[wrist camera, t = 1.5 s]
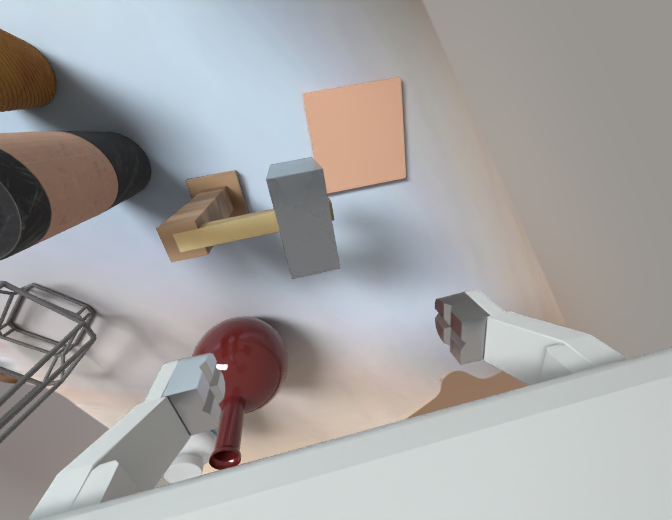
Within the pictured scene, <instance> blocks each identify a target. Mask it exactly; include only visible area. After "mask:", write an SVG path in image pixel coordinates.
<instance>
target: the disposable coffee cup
mask: <svg viewBox="0 0 672 520" xmlns="http://www.w3.org/2000/svg"><path fill="white" fill-rule="evenodd" d="M55 92H56V80H55V75H54V72H53V70H52V68H51V66H50V64H49V63H48V61H47V60H46V58H45V57H44V56H43V55H42V54H41V53H40V52H39V51H38V50H37V49H36V48H35V47H33V46H32V45H31V44H29V43H27V42H26V41H24V40H22V39H19V38H18V37H15V36H14V35H12V34H9V33H8V32H6V31H3V30H2V29H0V112H4V111H11V110H19V109H28V108H38V107H42V106H44V105H46V104H48V103H49V102H50V101H51V100H52V98H53V97H54V95H55Z"/></svg>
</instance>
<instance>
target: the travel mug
mask: <svg viewBox="0 0 672 520" xmlns="http://www.w3.org/2000/svg"><path fill="white" fill-rule="evenodd" d="M150 174H151V168H150V163H149V160H148V158H147V156H146V155H145V153H144V152H143V150H142V149H141V148H140V147H139V146H138V145H137V144H136V143H135V142H133V141H132V140H130V139H129V138H127V137H125V136H123V135H120V134H116V133H110V132H79V131H43V132H20V133H0V260H3V259H5V258H8V257H10V256H12V255H14V254H16V253H18V252H20V251H23V250H25V249H27V248H29V247H31V246H33V245H35V244H37V243H39V242H42V241H44V240H46V239H48V238H50V237H52V236H54V235H56V234H59V233H61V232H63V231H65V230H67V229H69V228H71V227H73V226H76V225H78V224H80V223H82V222H84V221H86V220H88V219H90V218H93V217H95V216H97V215H99V214H101V213H103V212H105V211H107V210H108V209H110V208H112V207H114V206H115V205H117V204H119V203H121V202H123V201H124V200H126V199H128V198H130V197H131V196H133V195H135V194H137V193H138V192H140V191H141V190H142V189H144V188H145V187H146V185H147V184H148V182H149V179H150Z"/></svg>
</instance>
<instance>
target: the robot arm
mask: <svg viewBox="0 0 672 520" xmlns="http://www.w3.org/2000/svg"><path fill="white" fill-rule="evenodd" d="M435 309H436V310H437V311H438V312H439V313H438V315H437V316H436V318H435V323H436V329H437V332H438V334H439V336H440V338H441V340H442V341H443V342H444V343H445V344H448V345H450V352H451V353H452V354H453V356H454V357H455V358H456V360H457V361H458V362H459V363H460V365H462V364H466V363H470V362H475V361H479V360H483V359H484V361H486V362H488V363H489V364H491V365H493V366H495V367H497V368H498V369H500V370H502V371H504V372H506V373H508V374H510V375H511V376H513V377H515V378H517V379H519V380H520V381H522V382H524V383H526V384H528V385H529V386H526V387H523V388H519V389H516V390H512V391H508V392H505V393H501V394H497V395H494V396H490V397H487V398H483V399H479V400H475V401H472V402H468V403H465V404H461V405H457V406H453V407H450V408H446V409H442V410H439V411H435V412H431V413H428V414H424V415H420V416H417V417H413V418H409V419H405V420H402V421H398V422H394V423H391V424H387V425H383V426H380V427H376V428H372V429H369V430H365V431H361V432H358V433H354V434H351V435H347V436H343V437H340V438H336V439H332V440H329V441H325V442H321V443H318V444H314V445H310V446H307V447H303V448H299V449H296V450H292V451H288V452H285V453H281V454H277V455H274V456H270V457H266V458H263V459H259V460H255V461H252V462H248V463H244V464H241V465H237V466H233V467H230V468H226V469H222V470H219V471H215V472H211V473H208V474H204V475H200V476H197V477H193V478H190V479H186V480H182V481H179V482H175V483H171V484H168V485H164V486H160V487H157V488H154V487H155V486H156V485H157V483H158V482H159V480H160V479H161V477H162V476H163V475H164V474H165V472H166V471H167V469H168V468H169V467H170V465H171V464H172V462H173V461H174V460H175V458H176V457H177V456H178V454H179V453H180V451H181V450H182V449H183V447H184V446H185V445H186V443H187V442H188V440H189V439H190V438H191V437H190V436H192V435H196V434H199V433H202V432H206V431H209V430H213V429H216V428H217V427H218V423H219V418H220V414H221V408H220V406H219V404H220V402H221V401H222V400H223V399H224V395H225V381H224V376H223V374H222V372H221V370H219V369H217V368H215V366H216V362H217V361H216V359H215V357H214V355H213V354H212V353H206V354H202V355H197V356H193V357H188V358H183V359H180V360H175V361H171V362H167V363H165V364H164V365H163V366H162V368H161V370H160V372H159V374H158V375H157V377H156V379H155V381H154V383H153V385H152V387H151V389H150V391H149V393H148V395H147V397H146V399H145V401H144V402H142V403H139V404H138V405H137V406H135V407H134V408H133V409H132V410H131V411H130V412H128V413H127V414H126V415H125V416H124V417H123V418H122V419H120V420H119V421H118V422H117V423H116V424H115V425H114V426H112V427H111V428H110V429H109V430H108V431H107V432H106V433H104V434H103V435H102V436H101V437H100V438H99V439H97V440H96V441H95V442H94V443H93V444H92V445H91V446H89V447H88V448H87V449H86V450H85V451H84V452H83V453H81V454H80V455H79V456H78V457H77V458H76V459H74V460H73V461H72V462H71V463H70V464H69V465H68V466H66V467H65V468H64V469H63V470H62V471H61V472H60V473H58V475H57V476H56V478H55V479H54V481H53V482H52V484H51V485H50V487H49V488H48V490H47V491H46V493H45V495H44V496H43V498H42V499H41V501H40V502H39V504H38V505H37V507H36V508H35V510H34V511H33V513H32V514H31V516H30V518H29V519H28V520H672V347H669V348H666V349H662V350H658V351H655V352H651V353H647V354H644V355H640V356H636V357H633V358H629V359H626V358H625V357H623V356H622V355H620V354H619V353H618V352H616V351H614V350H613V349H611V348H610V347H609V346H607V345H606V344H604V343H603V342H601V341H600V340H598V339H597V338H595V337H594V336H592V335H590V334H587V333H583V332H580V331H576V330H573V329H569V328H566V327H563V326H559V325H556V324H552V323H549V322H545V321H542V320H538V319H535V318H531V317H528V316H525V315H521V314H518V313H514V312H511V311H509V312H505V311H504V310H503V309H501V308H500V307H499V306H498V305H496V304H495V303H494V302H493V301H491V300H490V299H489V298H488V297H486V296H485V295H484V294H483V293H482V292H480V291H479V290H477V289H472V290H468V291H464V292H462V293H458V294H454V295H450V296H446V297H442V298H438V299H436V301H435Z"/></svg>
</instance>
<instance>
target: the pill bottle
mask: <svg viewBox="0 0 672 520" xmlns="http://www.w3.org/2000/svg"><path fill="white" fill-rule="evenodd" d="M220 417H221V415H220ZM219 422H220V418H219ZM218 427H219V423H218ZM218 427H217V428H216V429H213V430H209V431H206V432H202V433H199V434H196V435H192V436H190V437H191V438H190V439H189V440H188V442H187V443H186V445H185V446H184V447H183V449H182V450H181V451H180V453H179V454H178V456H177V457H176V458H175V460H174V461H173V462H172V464H171V465H170V467H169V468H168V469H167V471H166V472H165V474H164V477H165V479H166V480H167V481H168V482H170V483H175V482H179V481H182V480H186V479H190V478H193V477H197V476H200V475H201V474H202V471H203V466H204V465H205V464H206V463H208V462H209V459H210V456H211V454H212V452H213V451H214V446H215V442H216V437H217V432H218Z"/></svg>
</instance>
